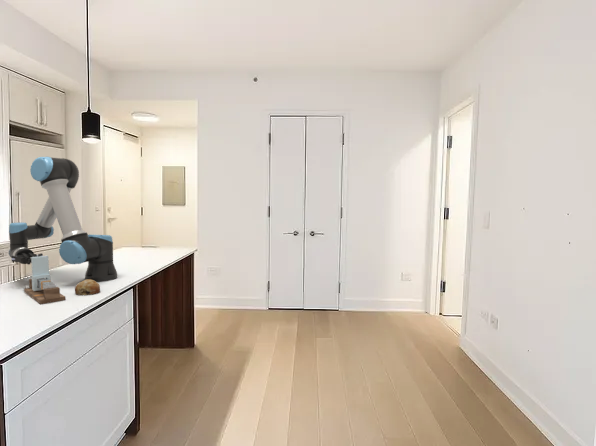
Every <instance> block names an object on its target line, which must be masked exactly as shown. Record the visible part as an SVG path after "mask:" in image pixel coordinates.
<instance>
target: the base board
mask: <svg viewBox="0 0 596 446" xmlns="http://www.w3.org/2000/svg"><path fill="white" fill-rule="evenodd" d="M60 291H61V289H60V287H59V286H56V288H51V289H47V288H46V289H44V290H38V291H33V290H32V278H28V288H24V289H23V292H24V293H25V294H26V295H28V296H29V297H30V298H31V299H33V300H34V301H35V302H37V304H39V305H45V304H51V303H52V304H53V303H56V302H63V301H66V296H65V295H64V294H62V293H61V292H60Z"/></svg>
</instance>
